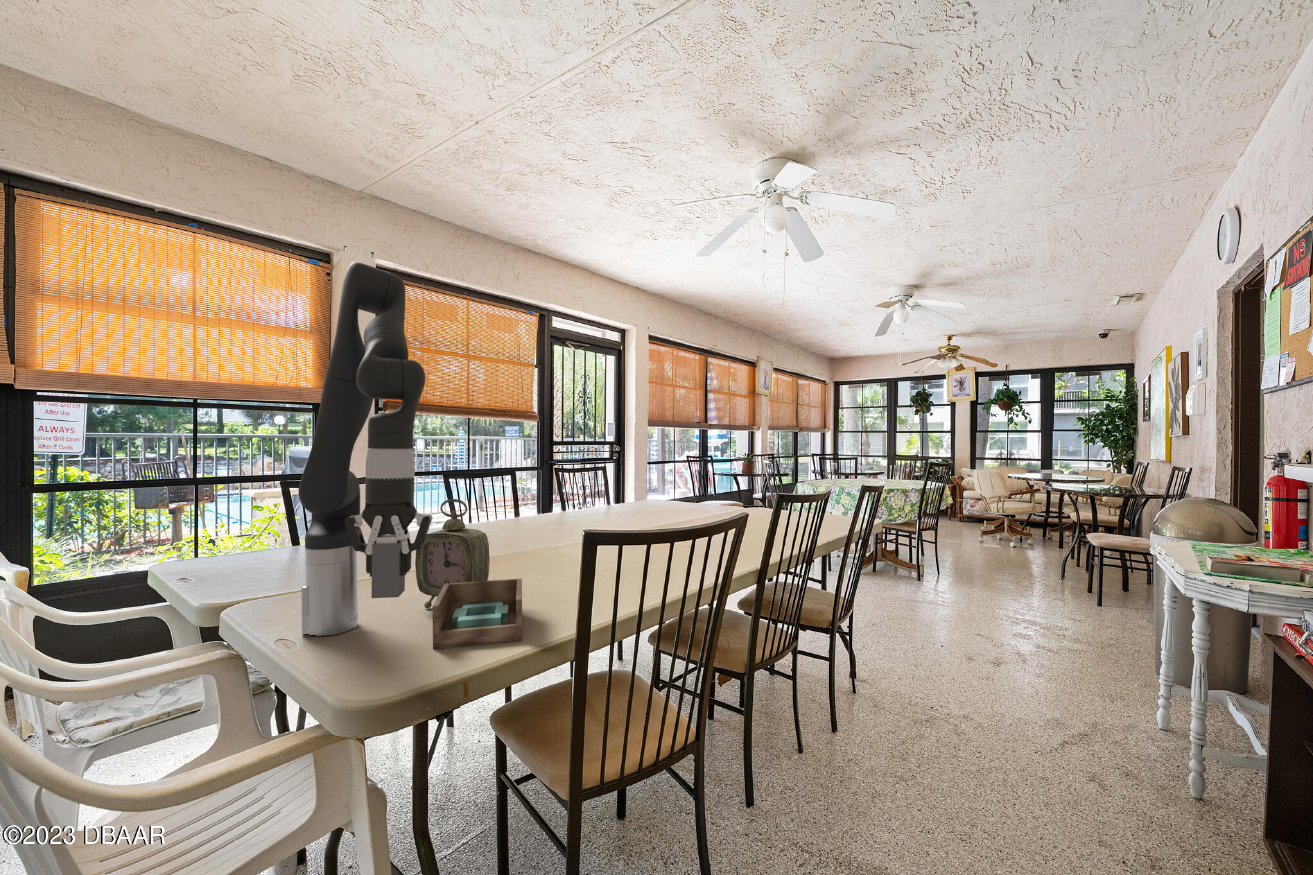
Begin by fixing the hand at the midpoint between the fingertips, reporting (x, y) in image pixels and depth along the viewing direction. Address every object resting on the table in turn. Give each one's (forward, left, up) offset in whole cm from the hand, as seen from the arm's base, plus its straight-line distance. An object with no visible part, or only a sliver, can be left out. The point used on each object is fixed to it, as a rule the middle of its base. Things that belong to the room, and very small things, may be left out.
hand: (388, 574), depth 94 cm
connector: (0, 0, -3) cm, 3 cm away
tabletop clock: (+7, +33, -16) cm, 37 cm away
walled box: (+14, +15, -16) cm, 26 cm away
